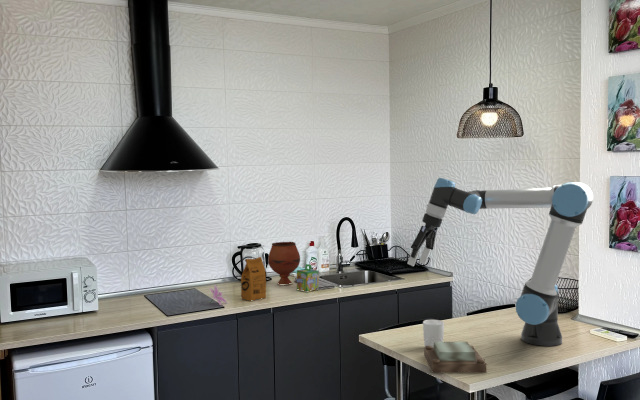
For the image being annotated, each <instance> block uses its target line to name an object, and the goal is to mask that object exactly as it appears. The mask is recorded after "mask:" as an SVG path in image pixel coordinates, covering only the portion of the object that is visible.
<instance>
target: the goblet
mask: <svg viewBox="0 0 640 400" xmlns="http://www.w3.org/2000/svg"><path fill="white" fill-rule="evenodd" d="M267 261H268V266H269V267H270V269H271V270H272V271H273V272H275V273H276V274H278V275H279V278H280V279H279V280H278V281H277V284H278V283H279V284H289V283H292V284H293V282H292V281H291V280H290V278H289V277H290V274H292V273H293V272H294V271H296V270H297V268H298V267H299V266H300V262H301V256H300V252H299V249H298V247H297V243H296V242H294V241H280V242H279V241H278V242H272V243H271V248H270V251H269V254H268V258H267Z"/></svg>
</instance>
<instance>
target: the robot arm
mask: <svg viewBox="0 0 640 400" xmlns="http://www.w3.org/2000/svg"><path fill="white" fill-rule="evenodd" d="M593 200H594V193H593V191H592V189H591V187H589V186H588V185H587V184H585V183H584V182H581V181H580V182H578V181H569V182H565V183H562V184H557V185H553V186H552V187H542V188H541V187H540V188H538V187H537V188H519V189H518V188H517V189H516V188H515V189H491V190H489V189H488V190H484V189H483V190H471V191H465V190H463V189H460V188H457V187H456V182H455V181H453V180H449V179H446V178H444V177H439V178H437V179H436V181H435V184H434V187H433V189H432V193H431V195H430V198H429V200H428V204H426V209H425V213H424V214H423V218H422V220H421V221H422V223H424V224H425V225H421V226H420V229H419V231H418V232H417V235H416V237H415V238H414V240H413V242H412V245H411V246H410V248H411V252H410V255H409V257H408V261H407V265H409V266H411V267H414V266H415V264H416V261H417V258H418V256H419V253H420V251H419V250H420V248H421V247H422V246H423V244H424V243H425V247H423V250H422V253H421V256H420V258H419V261H418V262H419V263H421V264H424V265H426V263H427V261H428V258H429V255H430V253H431V251H433V250H434V247H435V242H436V237H437V231H438V228H440V227H441V225H442V223H443V218H444V217H445V214H446V211H447V209H448V206H449V207H452V208H455V209H457V210H460V211H463V212H464V213H466V214H471V215H476V214H478V212H479V211H480V210H485V209H537V208H538V209H543V208H544V209H545V208H547V209H548V208H550V209H549V212H548V215H549V217H550V219H551V221H550V222H549V223H550V224H549V225H548V226H549V227H548V229H547V232H546V233H545V234H546V235H545V237H544V241H543V244H542V245H541V249H540V251H539V252H540V253H539V255H538V258H537V261H536V264H535V266H534V270H533V273H532V275H531V278H530V279H529V280H527V281H525V283H524V285H523V288H522V291H521V294H520V296H519V297H518V298H517V299H516V302H515V312H516V315H517V317H518V318H520V320H522V322H524V325H523V328H522V331H521V333H520V334H521V335H520V337H521V338H520V339H521V341H522V342H524V343H527V344H530V345H534V346H540V347H541V346H542V347H544V346H545V347H549V346H550V347H553V346H560V345H561V344H563V336H562V332H561V328H560V326H559V321H558V318H559V317H558V315H559V313H558V311H559V310H558V309H559V305H558V303H559V302H558V301H559V289H558V287H559V286H558V285H557V281H558V278H559V276H560V273H561V270H562V268H563V264H564V262H565V259H566V256H567V254H568V251H569V248H570V244H571V241H572V239H573V236H574V233H575V231H576V228H577V227H579V226H581V225H582V224H583V222H584V220H585V216H586V214H587V211H588V209H590V208H591V206H592V203H593Z"/></svg>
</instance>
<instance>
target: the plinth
mask: <svg viewBox="0 0 640 400" xmlns="http://www.w3.org/2000/svg"><path fill="white" fill-rule="evenodd" d="M423 356H424V358H425V360H427V361H426V362H428V363H427V364H428V367H429V368H430V371H431V373H433V374H435V373H441V374H442V373H444V374H445V373H448V374H449V373H452V374H453V373H455V374H456V373H457V374H458V373H460V374H461V373H462V374H463V373H472V374H473V373H474V374H475V373H482V374H483V373H487V362H486V361H485V359H484V358H483V357H482V355H480V353H479V352H478V351H477V349H475V346H474V345H471V344H470V343H469V342H468V341H443V342H434V347H432V346H425V345H424V346H423Z"/></svg>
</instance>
